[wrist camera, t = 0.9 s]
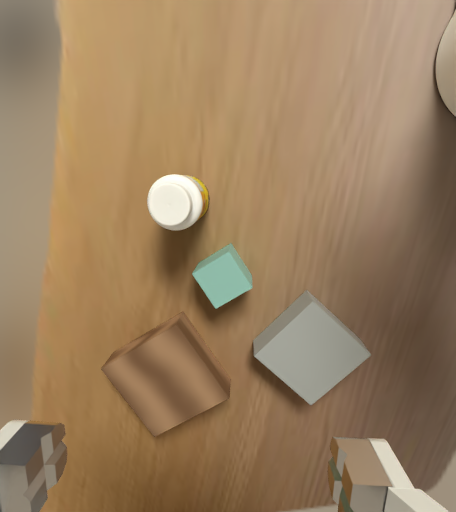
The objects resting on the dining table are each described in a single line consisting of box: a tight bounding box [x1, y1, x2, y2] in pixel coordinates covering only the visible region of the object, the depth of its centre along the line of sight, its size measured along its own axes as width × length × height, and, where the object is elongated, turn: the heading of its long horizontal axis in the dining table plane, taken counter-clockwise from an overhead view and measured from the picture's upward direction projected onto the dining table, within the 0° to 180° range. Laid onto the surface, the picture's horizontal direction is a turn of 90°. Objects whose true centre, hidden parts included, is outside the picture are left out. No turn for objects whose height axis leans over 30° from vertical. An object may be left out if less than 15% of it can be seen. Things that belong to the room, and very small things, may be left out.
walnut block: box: [101, 312, 231, 437], centre depth 43 cm, size 12×12×4 cm
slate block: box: [253, 290, 371, 405], centre depth 41 cm, size 10×10×4 cm
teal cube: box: [192, 243, 252, 309], centre depth 39 cm, size 5×5×5 cm
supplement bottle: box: [147, 175, 209, 230], centre depth 34 cm, size 6×6×10 cm
